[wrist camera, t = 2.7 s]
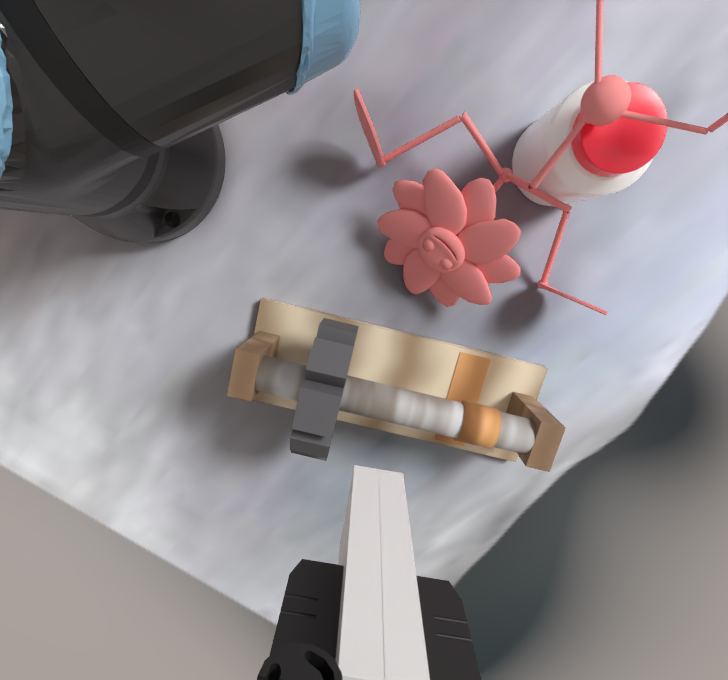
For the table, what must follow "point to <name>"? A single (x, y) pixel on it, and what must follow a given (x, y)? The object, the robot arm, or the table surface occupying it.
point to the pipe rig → (406, 385)
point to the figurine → (483, 204)
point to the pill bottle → (590, 148)
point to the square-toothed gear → (322, 389)
